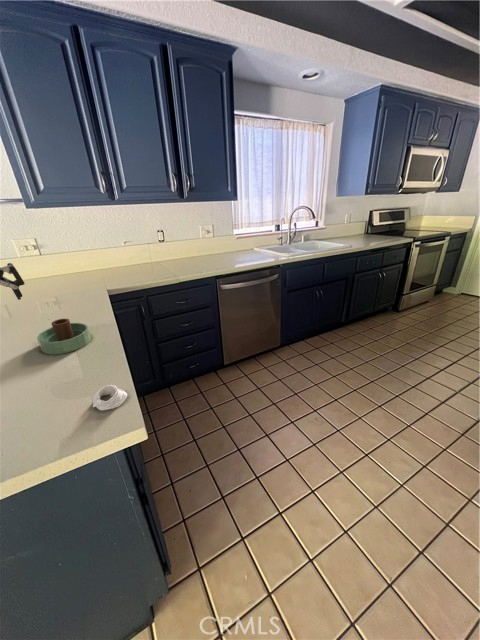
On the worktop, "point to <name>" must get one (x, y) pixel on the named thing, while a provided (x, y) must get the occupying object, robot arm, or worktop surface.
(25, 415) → the worktop surface
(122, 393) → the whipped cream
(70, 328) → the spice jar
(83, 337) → the bowl
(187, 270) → the worktop surface
